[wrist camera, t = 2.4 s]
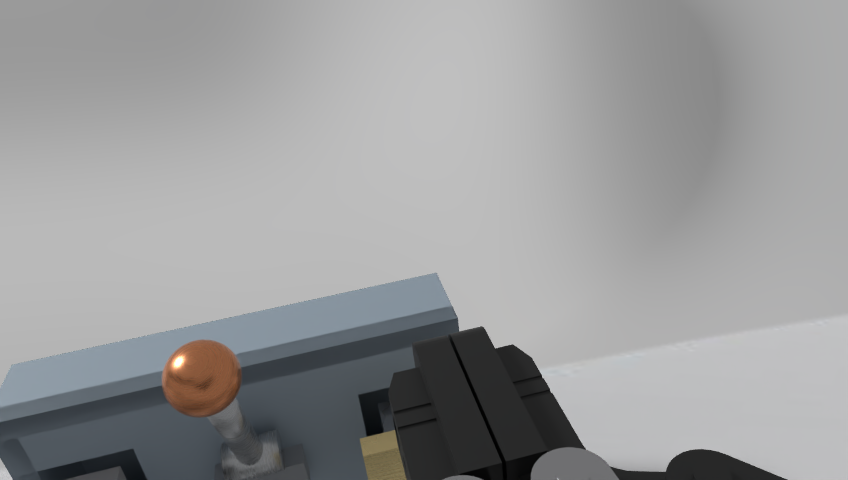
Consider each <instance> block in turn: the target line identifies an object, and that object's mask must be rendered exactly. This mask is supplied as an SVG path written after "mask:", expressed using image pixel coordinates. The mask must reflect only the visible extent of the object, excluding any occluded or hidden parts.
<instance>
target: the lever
mask: <svg viewBox="0 0 848 480" xmlns="http://www.w3.org/2000/svg"><path fill="white" fill-rule="evenodd" d="M241 383H242V370H241V365H240V363H239V360H238V358H237V357H236V355H235V354H234V353H233V351H232V350H231V349H229V348H228V347H227V346H225V345H224V344H222V343H220V342H217V341H213V340H205V339H203V340H195V341H191V342H189V343H186V344H184V345H183V346H181V347H179V348H178V349H177V350H176V351H175V352H174V353H173V354H172V355H171V356H170V357H169V359H168V360H167V362H166V364H165V366H164V369H163V372H162V389H163V393H164V395H165V398H166V399H167V401H168V402H169V404H170V405H171V406H172V407H173V408H174V409H175V410H177V411H178V412H180V413H182V414H184V415H187V416H190V417H198V418H202V417H207V418H208V419H209V421H210V422H211V423H212V425H213V426H214V428H215V429H216V430H217V432H218V433H219V435H220V436H221V437H222V439H223V440H224V442H223V443H222V444H221V463H222V469H223V474H224V477H225V480H250V479H254V478H258V477H262V476H266V475H270V474H274V473H278V472H282V471H285V457H284V451H283V445H282V441H281V437H280V433H279V431H278V429H277V430H272V431H268V432H264V433H260V434H257V433H256V431H255V430H254V428H253V426H252V424H251V423H250V421H249V419H248V418H247V416H246V414H245V413H244V411H243V409H242V407H241V406H240V404H239V402H238V401H237V399H236V396H237V394H238V392H239V390H240V387H241Z"/></svg>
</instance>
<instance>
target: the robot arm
mask: <svg viewBox="0 0 848 480" xmlns="http://www.w3.org/2000/svg"><path fill="white" fill-rule="evenodd" d="M412 349H413V356H414V362H415V368H412V369H408V370H404V371H400V372H396V373H393V377H392V380H391V384H390V387H389V391H388V395H389V400H390V406H391V411H392V417H393V422H394V428H395V433H396V438H397V444H398V448H399V452H400V456H401V460H402V464H403V467H404V472H405V476H406V479H407V480H787V479H784V478H782V477H779V476H777V475H774V474H772V473H770V472H767V471H765V470H762V469H760V468H757V467H755V466H752V465H750V464H748V463H745V462H743V461H740V460H738V459H735V458H733V457H731V456H728V455H726V454H723V453H720V452H716V451H712V450H704V449H697V450H689V451H686V452H683V453H681V454H679V455H677V456H676V457H674V458H673V459H672V460H671V462H670V463H669V465H668V467H667V470H666V472H640V471H626V470H620V469H617V468H613V467H610V466H609V465H608V464H607V463H606V462H605V461H604V460H603V459H602V458H601V457H599V456H598V455H596V454H594V453H592V452H590V451H588V450H586V449H585V447H584V446H583V445H582V443H581V441H580V440H579V438H578V436H577V434H576V433H575V431H574V429H573V428H572V426H571V424H570V422H569V421H568V419H567V417H566V416H565V414H564V412H563V411H562V409H561V407H560V405H559V404H558V402H557V400H556V399H555V397H554V395H553V393H551V392H550V388H549V387H548V385H547V383H546V382H545V380H544V379H543V378H542V375H541V373H540V371H539V370H538V368H537V366H536V365H535V363H534V361H533V359H532V358H531V357H530V356H528V355H527V354H525V353H524V352H523V351H521V350H520V349H519V348H517V347H516V346H514V345H508V346H504V347H500V348H496V349H495V348H494V346H493V344H492V342H491V340H490V338H489V336H488V334H487V332H486V330H485V329H484V327H477V328H473V329H469V330H464V331H460V332H456V333H451V334H449V335H448V337H447V335H443V336H439V337H435V338H431V339H426V340H422V341H418V342H413V343H412Z"/></svg>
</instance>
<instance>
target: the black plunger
mask: <svg viewBox="0 0 848 480" xmlns="http://www.w3.org/2000/svg"><path fill="white" fill-rule="evenodd" d="M64 480H127V479H126V477H125V475H124V473H123V471H122V469H121V467H120V466H118V467H114V468H110V469H106V470H102V471H97V472H93V473H89V474H85V475H81V476H77V477H73V478H69V479H64Z"/></svg>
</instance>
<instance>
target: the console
mask: <svg viewBox="0 0 848 480" xmlns="http://www.w3.org/2000/svg"><path fill="white" fill-rule="evenodd" d="M456 332H459V326H458V318H457V315H456V313H455V311H454V309H453V307H452V305H451V303H450V301H449V298H448V297H447V294H446V292H445V290H444V288H443V286H442V284H441V282H440V280H439V277H438V275H437V273H434V274H429V275H425V276H419V277H415V278H410V279H406V280H401V281H396V282H392V283H388V284H383V285H378V286H374V287H369V288H364V289H360V290H355V291H351V292H346V293H341V294H336V295H332V296H327V297H323V298H318V299H313V300H309V301H304V302H299V303H296V304H290V305H286V306H281V307H277V308H272V309H267V310H263V311H258V312H253V313H249V314H244V315H240V316H235V317H230V318H226V319H221V320H216V321H212V322H207V323H203V324H198V325H193V326H189V327H184V328H180V329H175V330H171V331H166V332H161V333H157V334H152V335H147V336H143V337H138V338H133V339H129V340H125V341H120V342H115V343H110V344H106V345H102V346H97V347H92V348H87V349H83V350H78V351H73V352H69V353H64V354H60V355H56V356H50V357H46V358H41V359H37V360H32V361H28V362H23V363H18V364H14V365H12V366H11V368H10V370H9V372H8V374H7V376H6V378H5V380H4V382H3V384H2V386H1V388H0V458H1V460H2V462H3V463H4V465H5V467H6V468H7V470H8V472H9V473H10V475H11V477H12V478H13V480H64V479H69V478H73V477H77V476H81V475H85V474H89V473H93V472H97V471H102V470H106V469H110V468H114V467H118V466H120V467H121V469H122V471H123V473H124V475H125V477H126V479H127V480H225V477H224V474H223V469H222V463H221V444H222V443H223V442H224V440H223V439H222V437H221V436H220V435H219V433H218V432H217V430H216V429H215V428H214V426H213V425H212V423H211V422H210V421H209V419H208V418H207V417H202V418H198V417H190V416H187V415H184V414H182V413H180V412H178V411H177V410H175V409H174V408H173V407H172V406H171V405H170V404H169V402H168V401H167V399H166V398H165V395H164V393H163V389H162V372H163V369H164V366H165V364H166V362H167V360H168V359H169V357H170V356H171V355H172V354H173V353H174V352H175V351H176V350H177V349H178V348H179V347H181V346H183V345H184V344H186V343H189V342H191V341H195V340H203V339H205V340H213V341H217V342H220V343H222V344H224V345H225V346H227V347H228V348H229V349H231V350H232V351H233V353H234V354H235V355H236V357H237V358H238V360H239V363H240V365H241V370H242V383H241V387H240V390H239V392H238V394H237V396H236V399H237V401H238V402H239V404H240V406H241V407H242V409H243V411H244V413H245V414H246V416H247V418H248V419H249V421H250V423H251V424H252V426H253V428H254V430H255V431H256V433H257V434H260V433H264V432H268V431H272V430H277V429H278V431H279V433H280V437H281V441H282V445H283V451H284V457H285V471H282V472H278V473H274V474H270V475H266V476H262V477H258V478H254V479H250V480H368V476H367V472H366V467H365V463H364V458H363V453H362V448H361V443H360V438H364V437H368V436H372V435H376V434H380V433H383V429H382V423H381V418H380V413H379V408H378V403H382V402H387V401H390V400H389V395H388V391H389V387H390V384H391V380H392V377H393V373H396V372H400V371H404V370H408V369H412V368H415V362H414V356H413V349H412V343H413V342H418V341H422V340H426V339H431V338H435V337H439V336H443V335H447V337H448V335H449V334H451V333H456Z"/></svg>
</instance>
